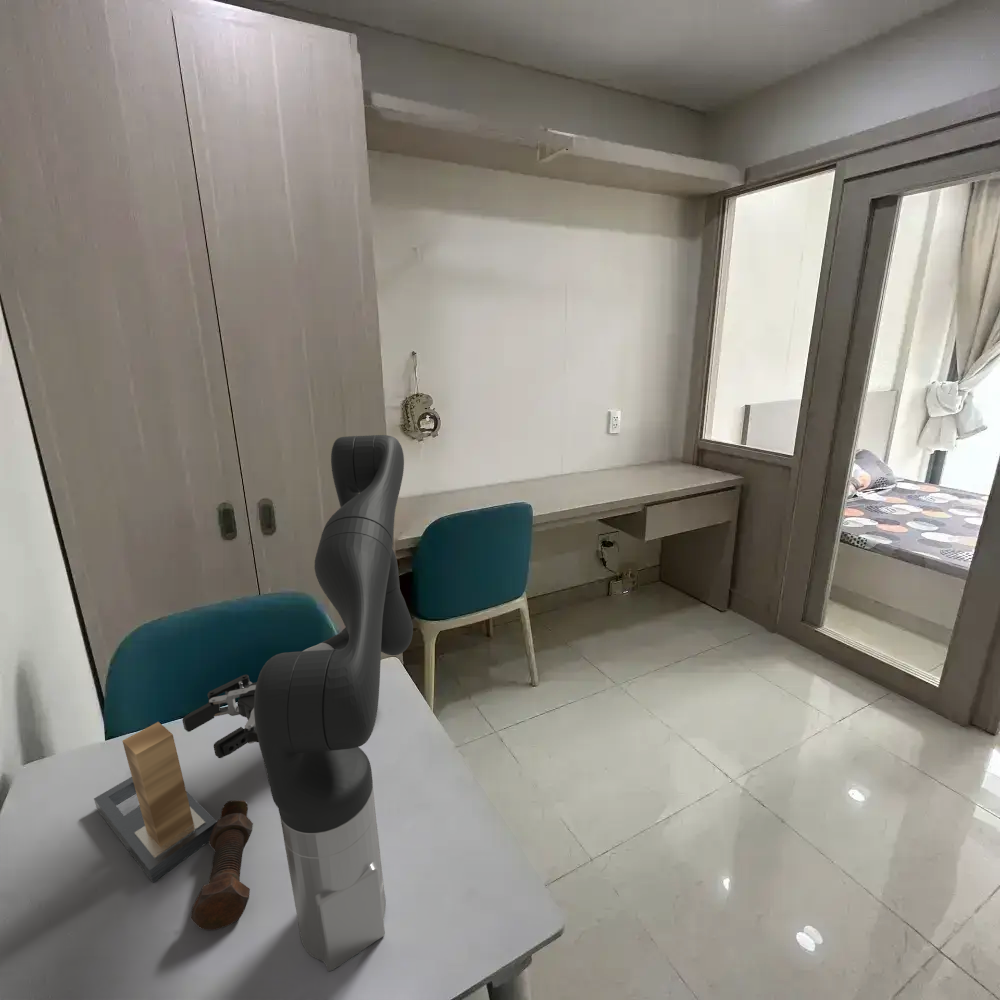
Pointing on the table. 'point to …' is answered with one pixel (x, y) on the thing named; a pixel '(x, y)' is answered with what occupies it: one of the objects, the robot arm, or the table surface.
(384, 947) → the table surface
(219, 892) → the bolt
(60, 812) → the table surface
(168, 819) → the wooden peg
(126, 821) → the socket plate
